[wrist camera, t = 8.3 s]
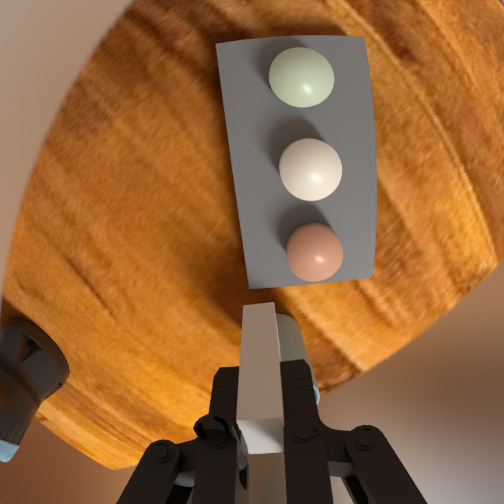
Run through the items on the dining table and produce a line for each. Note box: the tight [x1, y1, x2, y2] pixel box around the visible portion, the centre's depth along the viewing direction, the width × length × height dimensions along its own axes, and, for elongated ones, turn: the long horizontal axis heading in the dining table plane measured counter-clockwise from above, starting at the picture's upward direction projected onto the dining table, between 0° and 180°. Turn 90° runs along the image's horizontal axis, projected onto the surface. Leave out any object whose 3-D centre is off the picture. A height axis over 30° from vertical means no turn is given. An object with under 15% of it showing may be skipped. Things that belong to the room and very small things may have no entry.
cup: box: [276, 313, 320, 404], centre depth 29 cm, size 8×8×10 cm
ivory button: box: [279, 138, 342, 201], centre depth 22 cm, size 5×5×4 cm
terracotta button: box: [286, 223, 343, 282], centre depth 25 cm, size 5×5×4 cm
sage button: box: [269, 47, 334, 108], centre depth 19 cm, size 5×5×4 cm
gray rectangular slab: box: [216, 35, 377, 289], centre depth 24 cm, size 12×22×3 cm, turn 7°
